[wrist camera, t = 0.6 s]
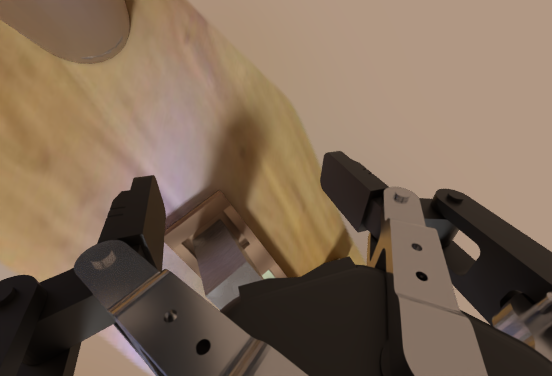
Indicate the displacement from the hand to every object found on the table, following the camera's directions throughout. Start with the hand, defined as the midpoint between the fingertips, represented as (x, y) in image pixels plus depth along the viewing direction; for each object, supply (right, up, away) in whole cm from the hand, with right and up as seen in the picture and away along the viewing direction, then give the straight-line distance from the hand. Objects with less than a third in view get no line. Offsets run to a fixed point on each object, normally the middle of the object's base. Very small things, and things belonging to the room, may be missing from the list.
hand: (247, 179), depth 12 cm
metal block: (-7, -8, +21) cm, 24 cm away
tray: (-4, -12, +25) cm, 28 cm away
